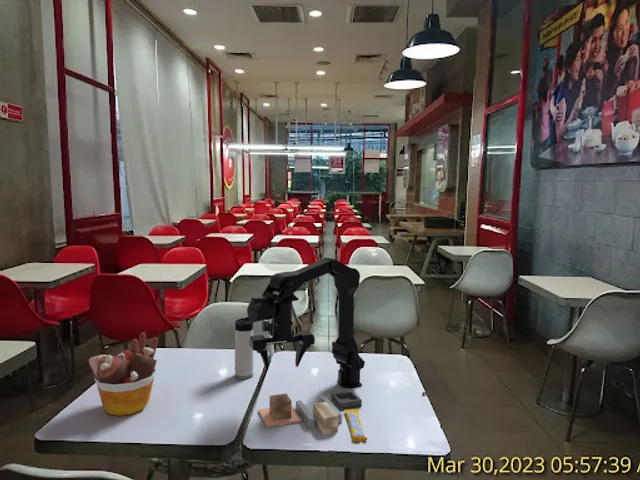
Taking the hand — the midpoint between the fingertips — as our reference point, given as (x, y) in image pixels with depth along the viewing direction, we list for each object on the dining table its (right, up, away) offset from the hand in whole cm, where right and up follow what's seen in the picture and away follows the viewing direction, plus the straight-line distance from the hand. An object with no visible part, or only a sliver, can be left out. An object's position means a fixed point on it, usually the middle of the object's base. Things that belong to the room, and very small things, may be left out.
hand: (281, 368), depth 135 cm
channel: (+11, -12, -5) cm, 17 cm away
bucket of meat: (-45, -11, -1) cm, 46 cm away
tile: (0, -12, -6) cm, 13 cm away
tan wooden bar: (+13, -13, -10) cm, 21 cm away
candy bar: (+21, -14, -11) cm, 27 cm away
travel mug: (-15, -9, +24) cm, 30 cm away
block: (0, -12, -6) cm, 13 cm away
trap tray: (+19, -12, +4) cm, 23 cm away
